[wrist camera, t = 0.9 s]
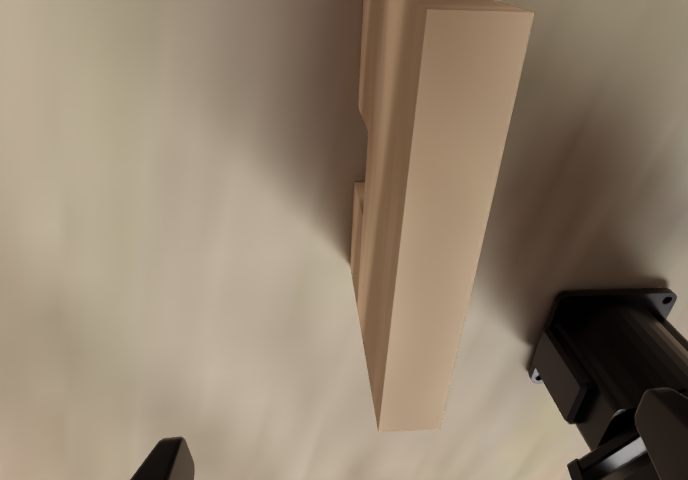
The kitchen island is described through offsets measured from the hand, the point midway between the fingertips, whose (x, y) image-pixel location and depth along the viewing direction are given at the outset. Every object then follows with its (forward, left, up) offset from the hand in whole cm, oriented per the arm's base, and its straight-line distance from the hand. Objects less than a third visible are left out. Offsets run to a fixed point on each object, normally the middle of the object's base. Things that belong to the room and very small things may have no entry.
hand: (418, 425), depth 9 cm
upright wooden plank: (-1, -1, -13) cm, 13 cm away
